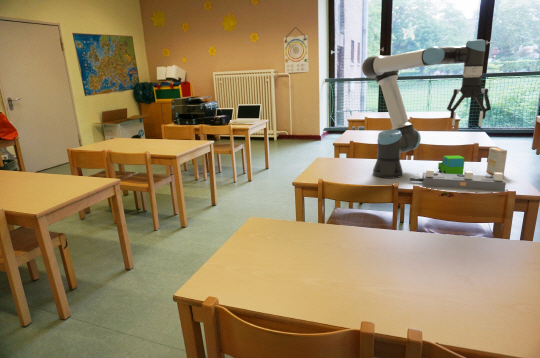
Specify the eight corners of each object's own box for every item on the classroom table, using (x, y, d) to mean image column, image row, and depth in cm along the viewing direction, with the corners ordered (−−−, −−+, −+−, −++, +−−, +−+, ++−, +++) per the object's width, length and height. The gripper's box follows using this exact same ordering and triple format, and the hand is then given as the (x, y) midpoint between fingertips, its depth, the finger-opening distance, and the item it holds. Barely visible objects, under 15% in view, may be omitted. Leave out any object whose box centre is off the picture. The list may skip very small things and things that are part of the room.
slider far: (494, 180, 165) (495, 174, 164) (493, 178, 168) (494, 172, 167) (502, 180, 164) (503, 174, 163) (500, 178, 167) (501, 172, 166)
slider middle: (465, 178, 169) (465, 172, 168) (464, 177, 172) (464, 170, 171) (472, 179, 168) (473, 172, 167) (471, 177, 171) (472, 171, 170)
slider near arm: (426, 176, 175) (427, 170, 174) (426, 175, 177) (426, 169, 176) (433, 177, 174) (433, 171, 173) (432, 175, 176) (433, 169, 175)
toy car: (454, 170, 199) (456, 152, 196) (464, 177, 186) (466, 158, 183) (435, 170, 200) (436, 152, 197) (443, 177, 187) (445, 158, 185)
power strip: (409, 185, 177) (410, 177, 176) (409, 179, 186) (410, 171, 185) (505, 191, 164) (507, 182, 163) (500, 184, 173) (501, 176, 172)
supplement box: (504, 175, 186) (508, 150, 183) (494, 175, 187) (498, 150, 183) (495, 171, 194) (498, 147, 191) (485, 171, 194) (489, 147, 191)
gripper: (444, 77, 164) (440, 126, 170) (503, 76, 156) (496, 127, 163) (443, 77, 171) (438, 124, 177) (499, 75, 163) (492, 124, 170)
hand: (466, 125), depth 170 cm, fingers open, 10 cm apart
